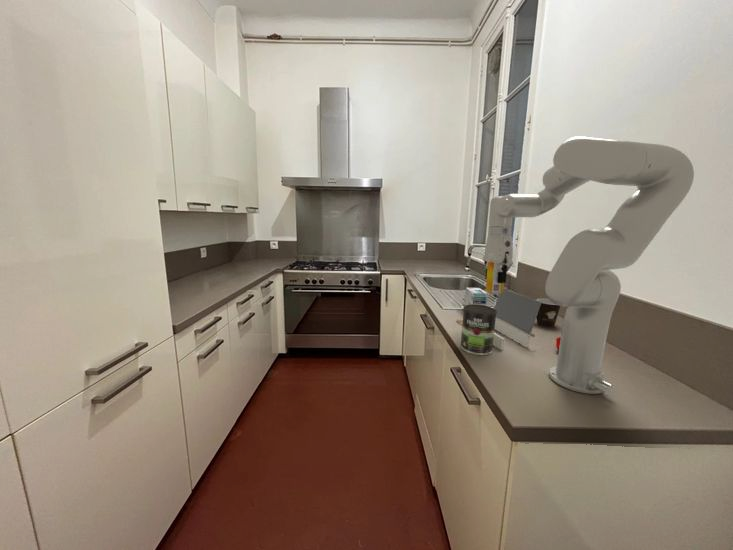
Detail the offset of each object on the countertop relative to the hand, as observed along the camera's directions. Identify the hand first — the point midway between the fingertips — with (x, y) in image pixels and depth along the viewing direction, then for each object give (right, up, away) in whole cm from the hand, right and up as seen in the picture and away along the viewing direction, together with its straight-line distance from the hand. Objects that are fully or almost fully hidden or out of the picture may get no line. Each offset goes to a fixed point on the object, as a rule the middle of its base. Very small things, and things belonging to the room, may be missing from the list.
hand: (495, 280), depth 109 cm
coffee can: (-10, -23, -9) cm, 27 cm away
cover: (+7, -11, 0) cm, 13 cm away
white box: (+1, -21, +1) cm, 21 cm away
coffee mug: (+26, -19, +15) cm, 35 cm away
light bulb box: (+3, -16, +29) cm, 33 cm away
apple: (+19, -24, -11) cm, 32 cm away
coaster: (-5, -18, +15) cm, 24 cm away
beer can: (0, -5, +1) cm, 5 cm away
